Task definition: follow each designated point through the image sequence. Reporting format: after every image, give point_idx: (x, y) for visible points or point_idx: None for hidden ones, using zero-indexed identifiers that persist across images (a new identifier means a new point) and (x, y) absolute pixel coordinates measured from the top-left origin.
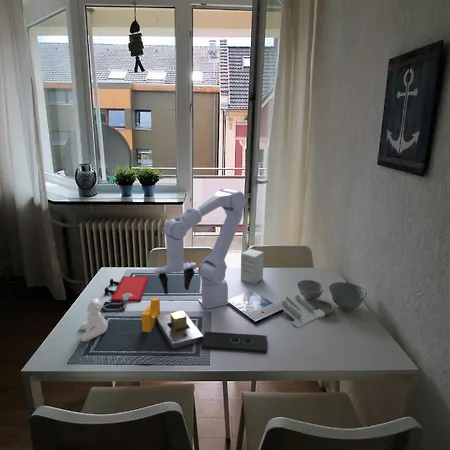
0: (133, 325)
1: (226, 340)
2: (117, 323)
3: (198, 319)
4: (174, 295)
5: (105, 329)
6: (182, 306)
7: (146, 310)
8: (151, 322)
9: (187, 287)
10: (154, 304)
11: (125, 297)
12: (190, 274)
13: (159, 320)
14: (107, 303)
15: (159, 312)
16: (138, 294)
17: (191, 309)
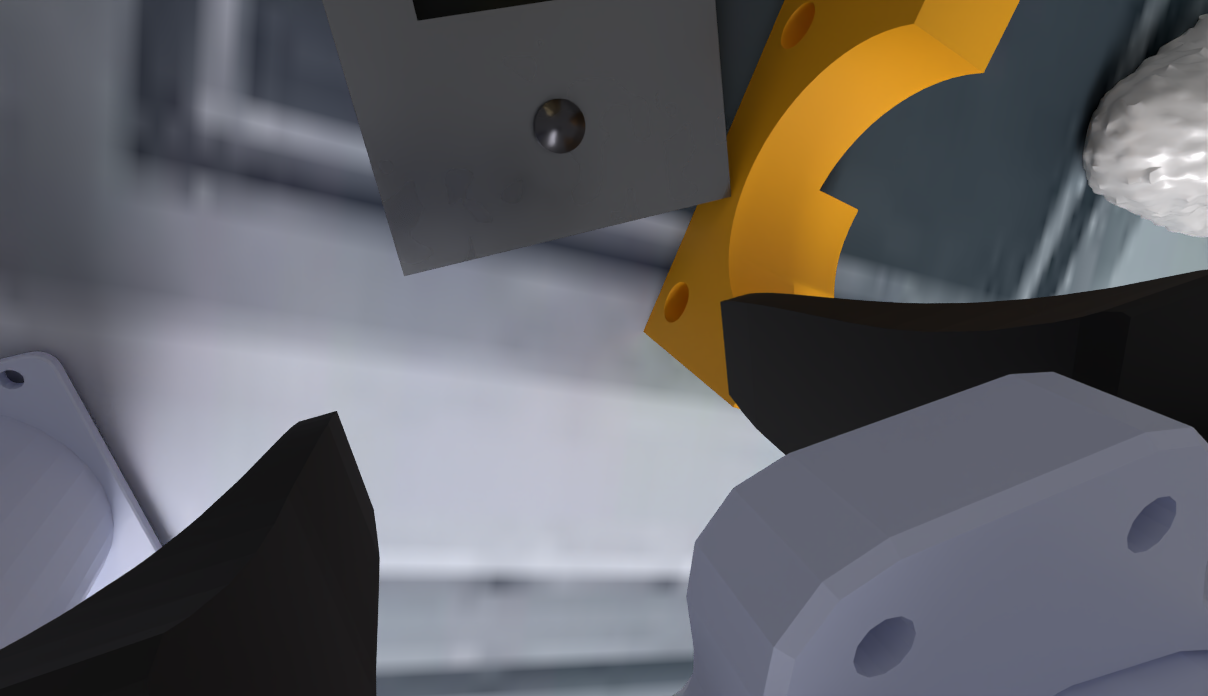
0: (891, 165)
1: None
2: (984, 233)
3: (191, 101)
4: (456, 671)
5: (1123, 95)
6: (391, 455)
7: (820, 293)
8: (811, 39)
9: (312, 428)
10: None
11: None
12: (66, 660)
13: (711, 94)
14: None
15: (660, 324)
16: None
17: (282, 377)
